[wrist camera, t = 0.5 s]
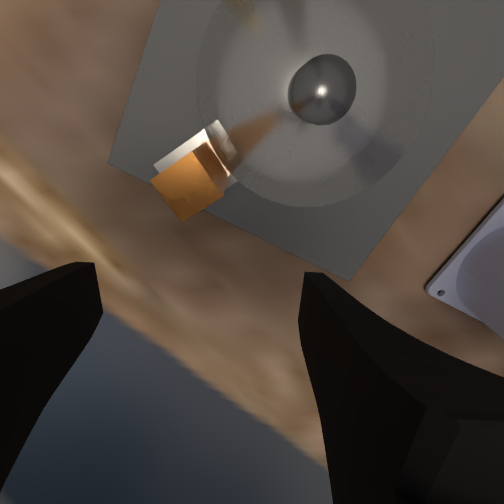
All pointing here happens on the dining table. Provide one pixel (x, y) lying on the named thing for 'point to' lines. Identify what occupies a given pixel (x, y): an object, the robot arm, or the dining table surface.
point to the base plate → (333, 215)
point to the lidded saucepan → (303, 101)
